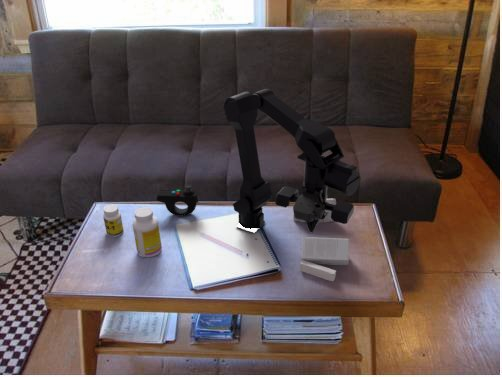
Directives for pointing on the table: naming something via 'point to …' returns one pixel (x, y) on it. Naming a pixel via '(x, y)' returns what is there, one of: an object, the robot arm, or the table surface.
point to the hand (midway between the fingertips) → (311, 231)
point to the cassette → (328, 217)
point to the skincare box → (325, 250)
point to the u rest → (317, 270)
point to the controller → (179, 200)
